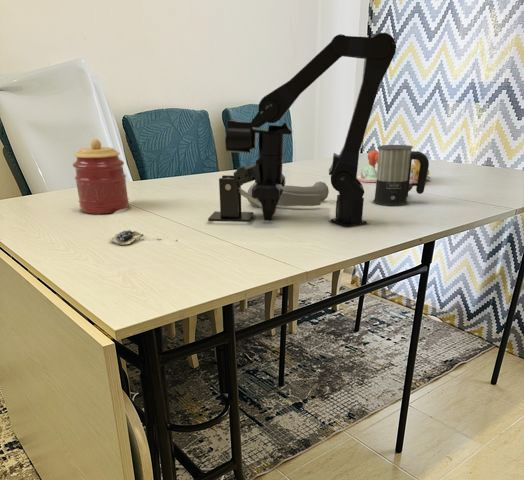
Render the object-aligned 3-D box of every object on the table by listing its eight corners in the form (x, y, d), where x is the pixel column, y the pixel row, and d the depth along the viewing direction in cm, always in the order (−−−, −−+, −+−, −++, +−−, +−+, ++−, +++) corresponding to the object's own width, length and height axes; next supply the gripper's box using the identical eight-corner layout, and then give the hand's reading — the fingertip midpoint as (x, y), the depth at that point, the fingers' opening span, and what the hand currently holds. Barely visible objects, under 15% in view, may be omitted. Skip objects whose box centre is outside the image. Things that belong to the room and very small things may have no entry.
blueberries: (146, 234, 116) (145, 226, 115) (139, 244, 109) (138, 235, 108) (115, 235, 116) (114, 226, 115) (107, 245, 108) (106, 236, 108)
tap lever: (272, 217, 128) (279, 205, 126) (270, 220, 125) (278, 208, 123) (223, 186, 126) (229, 174, 124) (220, 189, 123) (227, 176, 121)
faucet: (331, 197, 155) (321, 216, 133) (264, 192, 159) (243, 210, 136) (333, 173, 152) (324, 189, 129) (264, 169, 156) (243, 183, 133)
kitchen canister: (125, 214, 134) (116, 141, 126) (75, 215, 133) (62, 142, 125) (132, 203, 146) (124, 136, 138) (86, 204, 145) (75, 137, 137)
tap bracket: (253, 216, 131) (252, 174, 126) (249, 224, 124) (248, 180, 119) (214, 216, 132) (212, 174, 127) (208, 223, 125) (205, 179, 120)
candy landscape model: (429, 175, 184) (433, 147, 180) (433, 187, 164) (437, 156, 159) (358, 173, 189) (360, 146, 185) (353, 184, 169) (356, 154, 164)
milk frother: (380, 206, 140) (386, 148, 133) (359, 195, 153) (363, 142, 146) (428, 204, 142) (437, 147, 135) (403, 193, 156) (409, 140, 149)
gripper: (242, 147, 128) (241, 210, 136) (229, 157, 112) (229, 229, 119) (286, 149, 127) (283, 213, 135) (280, 160, 111) (277, 232, 118)
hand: (268, 221), depth 127 cm, fingers open, 3 cm apart
